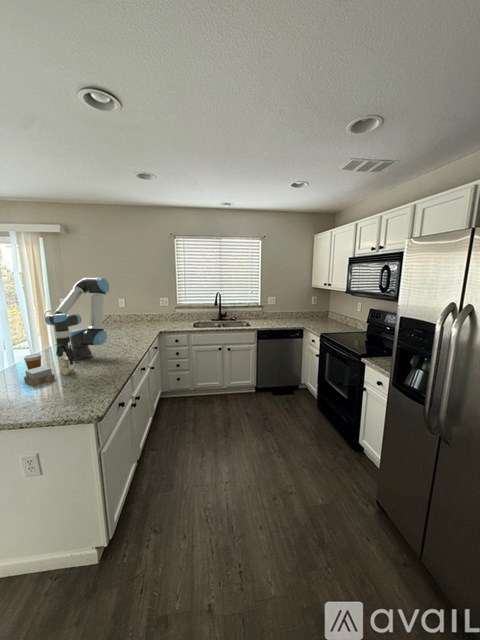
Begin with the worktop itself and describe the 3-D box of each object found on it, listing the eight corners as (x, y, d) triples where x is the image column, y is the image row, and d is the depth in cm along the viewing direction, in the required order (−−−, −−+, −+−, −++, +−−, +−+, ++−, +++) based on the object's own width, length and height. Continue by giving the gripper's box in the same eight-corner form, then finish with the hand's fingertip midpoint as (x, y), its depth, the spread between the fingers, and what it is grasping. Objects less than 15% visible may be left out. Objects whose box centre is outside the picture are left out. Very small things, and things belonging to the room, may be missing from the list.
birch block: (70, 370, 183) (68, 356, 181) (74, 372, 179) (72, 358, 178) (60, 373, 178) (58, 359, 176) (65, 374, 174) (63, 360, 173)
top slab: (44, 371, 171) (43, 365, 171) (51, 374, 166) (51, 368, 166) (26, 376, 163) (25, 370, 162) (33, 379, 158) (32, 373, 157)
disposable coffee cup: (29, 371, 181) (26, 354, 179) (45, 369, 185) (43, 353, 182) (23, 376, 173) (20, 359, 170) (41, 374, 176) (38, 357, 174)
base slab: (46, 376, 174) (45, 370, 173) (55, 380, 167) (54, 374, 166) (24, 382, 164) (23, 376, 163) (32, 387, 157) (31, 380, 156)
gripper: (48, 335, 177) (52, 365, 181) (65, 340, 164) (69, 372, 168) (60, 333, 184) (63, 362, 187) (78, 338, 170) (81, 368, 174)
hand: (66, 367), depth 177 cm, fingers open, 13 cm apart
